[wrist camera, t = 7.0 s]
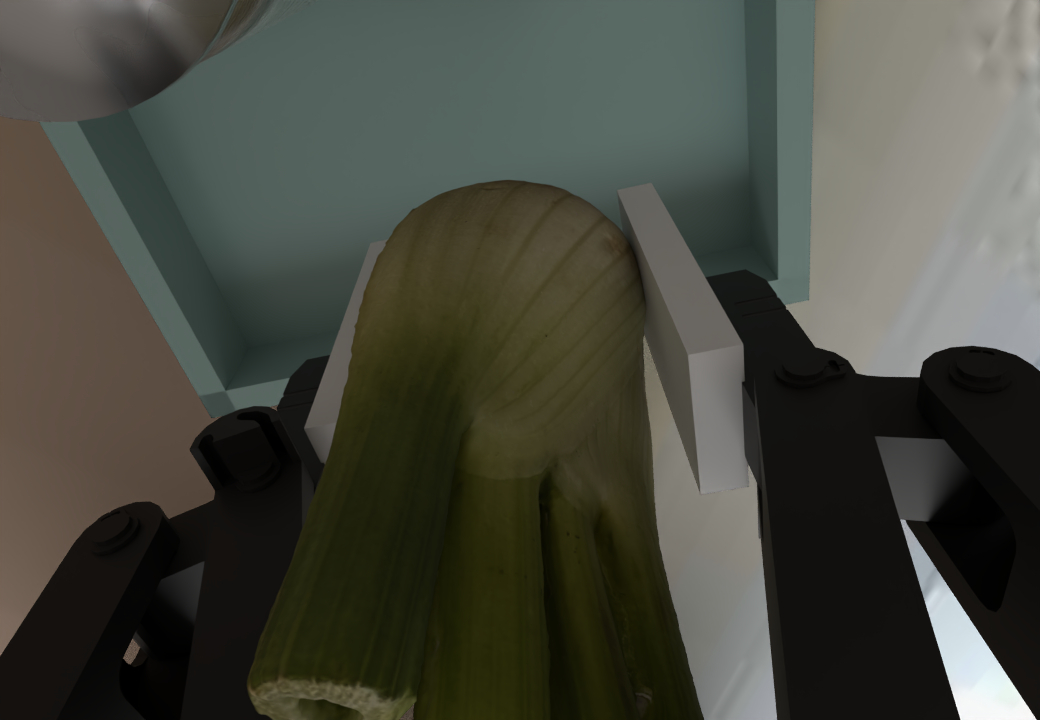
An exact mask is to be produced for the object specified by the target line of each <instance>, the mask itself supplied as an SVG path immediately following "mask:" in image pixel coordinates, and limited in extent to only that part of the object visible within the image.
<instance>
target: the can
mask: <svg viewBox="0 0 1040 720" xmlns="http://www.w3.org/2000/svg"><path fill="white" fill-rule="evenodd" d="M316 1H318V0H0V116H2V117H7V118H11V119H19V120H29V121H38V122H76V121H82V120H88V119H94V118H100V117H105V116H108V115H112V114H115V113H118V112H121V111H124V110H127V109H130V108H132V107H134V106H136V105H138V104H140V103H142V102H144V101H146V100H148V99H150V98H152V97H154V96H156V95H158V94H159V93H161V92H163V91H165V90H167V89H168V88H170V87H171V86H172V85H174V84H175V83H176V82H178V81H179V80H180V79H182V78H183V77H184V76H186V75H187V74H188V73H190V72H191V70H192V69H193V68H194V67H195V66H196V65H198V64H200V63H202V62H203V61H205V60H207V59H209V58H211V57H213V56H215V55H217V54H219V53H221V52H223V51H225V50H227V49H229V48H230V47H232V46H234V45H236V44H238V43H240V42H242V41H244V40H246V39H248V38H250V37H252V36H254V35H255V34H257V33H259V32H261V31H263V30H265V29H267V28H269V27H271V26H273V25H275V24H277V23H279V22H281V21H282V20H284V19H286V18H288V17H290V16H292V15H294V14H296V13H298V12H300V11H302V10H304V9H306V8H308V7H309V6H311V5H312V4H314V3H315V2H316Z"/></svg>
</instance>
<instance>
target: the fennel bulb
mask: <svg viewBox="0 0 1040 720" xmlns="http://www.w3.org/2000/svg"><path fill="white" fill-rule="evenodd" d="M385 244H386V245H385V247H384V248H383V251H382V252H381V253H380V254H379V255H378V256H377V259H376V262H375V265H374V267H373V270H372V272H371V275H370V278H369V280H368V283H367V285H366V289H365V290H364V294H363V300H362V303H361V305H360V308H359V315H358V320H357V323H356V324H355V326H354V327H355V334H354V337H353V344H352V347H351V353H352V357H351V360H350V363H349V366H348V379H347V383H346V385H345V387H344V392H343V396H342V400H341V406H340V410H339V415H338V419H337V423H336V426H335V430H334V434H333V439H332V444H331V447H330V451H329V455H328V458H327V460H326V463H325V466H324V469H323V473H322V476H321V479H320V482H319V484H318V487H317V489H316V492H315V494H314V497H313V499H312V501H311V503H310V506H309V509H308V512H307V516H306V521H305V523H304V526H303V528H302V531H301V534H300V537H299V540H298V542H297V545H296V548H295V551H294V555H293V558H292V561H291V564H290V566H289V569H288V571H287V573H286V575H285V577H284V580H283V583H282V585H281V588H280V590H279V592H278V594H277V597H276V600H275V603H274V605H273V607H272V608H271V610H270V614H269V618H268V620H267V623H266V625H265V628H264V631H263V632H262V634H261V636H260V639H259V642H258V646H257V650H256V653H255V659H254V662H253V664H252V667H251V670H250V673H249V675H248V679H247V690H248V694H249V697H250V699H251V701H252V704H253V705H254V707H255V710H256V711H257V712H258V713H259V714H264V715H267V716H269V717H270V718H271V719H272V720H399V719H400V718H401V717H402V716H403V715H404V714H405V713H406V712H407V711H408V710H409V709H410V707H411V706H412V705H413V704H414V703H415V704H414V714H413V720H704V717H703V714H702V712H701V708H700V705H699V701H698V698H697V694H696V689H695V686H694V682H693V677H692V674H691V672H690V668H689V664H688V659H687V654H686V651H685V646H684V644H683V641H682V638H681V633H680V630H679V624H678V620H677V614H676V612H675V609H674V605H673V602H672V598H671V594H670V591H669V585H668V581H667V576H666V572H665V569H664V564H663V560H662V554H661V551H660V547H659V537H658V530H657V524H656V513H655V511H656V509H655V502H654V478H653V460H652V440H651V430H650V422H649V416H648V408H647V399H646V392H645V377H644V358H643V337H644V326H645V321H646V301H645V296H644V289H643V284H642V279H641V275H640V271H639V267H638V263H637V260H636V256H635V254H634V251H633V249H632V247H631V245H630V243H629V242H628V240H627V238H626V236H625V235H624V233H623V232H622V231H621V230H620V228H619V227H618V226H617V225H616V224H615V223H613V222H612V221H611V220H610V219H608V218H607V217H606V216H605V215H604V214H603V213H602V212H601V211H600V210H598V209H597V208H596V207H594V206H593V205H592V204H591V203H589V202H587V201H586V200H584V199H582V198H581V197H579V196H575V195H573V194H572V193H570V192H569V191H567V190H565V189H562V188H558V187H555V186H553V185H547V184H540V183H532V182H527V181H520V180H518V181H517V180H498V181H491V182H485V183H476V184H473V185H469V186H464V187H461V188H457V189H453V190H450V191H447V192H444V193H441V194H439V195H437V196H435V197H433V198H432V199H430V200H428V201H426V202H425V203H423V204H422V205H420V206H419V207H417V208H415V209H412V210H411V211H410V212H409V214H408V215H407V216H406V217H405V218H404V219H403V220H402V221H401V222H400V223H399V224H398V225H397V226H396V227H395V229H394V230H393V233H392V235H391V236H390V237H389V239H388V240H387V241H386V243H385Z"/></svg>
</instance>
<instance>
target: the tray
mask: <svg viewBox="0 0 1040 720" xmlns="http://www.w3.org/2000/svg"><path fill="white" fill-rule="evenodd" d="M814 28H815V0H318V1H316V2H315V3H314V4H312V5H311V6H309V7H308V8H306V9H304V10H302V11H300V12H298V13H296V14H294V15H292V16H290V17H288V18H286V19H284V20H282V21H281V22H279V23H277V24H275V25H273V26H271V27H269V28H267V29H265V30H263V31H261V32H259V33H257V34H255V35H254V36H252V37H250V38H248V39H246V40H244V41H242V42H240V43H238V44H236V45H234V46H232V47H230V48H229V49H227V50H225V51H223V52H221V53H219V54H217V55H215V56H213V57H211V58H209V59H207V60H205V61H203V62H202V63H200V64H198V65H196V66H195V67H194V68H193V69H192V70H191V72H190V73H188V74H187V75H186V76H184V77H183V78H182V79H180V80H179V81H178V82H176V83H175V84H174V85H172V86H171V87H170V88H168V89H167V90H165V91H163V92H161V93H159V94H158V95H156V96H154V97H152V98H150V99H148V100H146V101H144V102H142V103H140V104H138V105H136V106H134V107H132V108H130V109H127V110H124V111H121V112H118V113H115V114H112V115H108V116H105V117H100V118H94V119H88V120H82V121H76V122H39V123H40V124H41V126H42V128H43V130H44V131H45V133H46V135H47V136H48V138H49V140H50V142H51V143H52V145H53V147H54V148H55V150H56V152H57V154H58V155H59V157H60V159H61V160H62V162H63V164H64V166H65V167H66V169H67V171H68V172H69V174H70V176H71V178H72V179H73V181H74V183H75V184H76V186H77V188H78V190H79V191H80V193H81V195H82V197H83V198H84V200H85V202H86V203H87V205H88V207H89V209H90V210H91V212H92V214H93V215H94V217H95V219H96V221H97V222H98V224H99V226H100V227H101V229H102V231H103V233H104V234H105V236H106V238H107V239H108V241H109V243H110V245H111V246H112V248H113V250H114V251H115V253H116V255H117V257H118V258H119V260H120V262H121V264H122V265H123V267H124V269H125V270H126V272H127V274H128V276H129V277H130V279H131V281H132V282H133V284H134V286H135V288H136V289H137V291H138V293H139V294H140V296H141V298H142V300H143V301H144V303H145V305H146V306H147V308H148V310H149V312H150V313H151V315H152V317H153V318H154V320H155V322H156V324H157V325H158V327H159V329H160V330H161V332H162V334H163V336H164V337H165V339H166V341H167V343H168V344H169V346H170V348H171V349H172V351H173V353H174V355H175V356H176V358H177V360H178V361H179V363H180V365H181V367H182V368H183V370H184V372H185V373H186V375H187V377H188V379H189V380H190V382H191V384H192V385H193V387H194V389H195V391H196V392H197V394H198V396H199V397H200V399H201V401H202V403H203V404H204V406H205V408H206V410H207V411H208V413H209V415H210V416H211V418H215V417H220V416H225V415H227V414H229V413H232V412H234V411H236V410H239V409H243V408H248V407H252V406H268V407H270V406H275V405H278V404H279V402H280V400H281V398H282V397H283V393H284V390H285V388H286V386H287V383H288V381H289V379H290V377H291V375H292V374H293V373H294V372H295V371H296V370H297V369H298V368H299V367H300V366H301V365H302V364H303V363H304V362H305V361H306V360H307V359H312V358H317V357H322V356H327V355H331V352H332V349H333V346H334V344H335V341H336V338H337V335H338V332H339V330H340V327H341V324H342V321H343V319H344V316H345V313H346V310H347V307H348V305H349V302H350V299H351V296H352V293H353V291H354V288H355V285H356V282H357V280H358V277H359V274H360V271H361V268H362V266H363V263H364V260H365V257H366V254H367V252H368V249H369V246H370V243H373V242H378V241H382V240H387V239H389V237H390V236H391V235H392V233H393V230H394V229H395V227H396V226H397V225H398V224H399V223H400V222H401V221H402V220H403V219H404V218H405V217H406V216H407V215H408V214H409V212H410V211H411V210H412V209H415V208H417V207H419V206H420V205H422V204H423V203H425V202H426V201H428V200H430V199H432V198H433V197H435V196H437V195H439V194H441V193H444V192H447V191H450V190H453V189H457V188H461V187H464V186H469V185H473V184H476V183H485V182H491V181H498V180H517V181H518V180H520V181H527V182H532V183H540V184H547V185H553V186H555V187H558V188H562V189H565V190H567V191H569V192H570V193H572V194H573V195H575V196H579V197H581V198H582V199H584V200H586V201H587V202H589V203H591V204H592V205H593V206H594V207H596V208H597V209H598V210H600V211H601V212H602V213H603V214H604V215H605V216H606V217H607V218H608V219H610V220H611V221H612V222H613V223H615V224H616V225H617V226H618V227H619V228H620V230H621V231H622V225H621V218H620V211H619V203H618V196H617V190H619V189H624V188H629V187H633V186H638V185H643V184H647V183H652V185H653V186H654V188H655V190H656V192H657V193H658V195H659V197H660V199H661V200H662V202H663V204H664V206H665V207H666V209H667V211H668V213H669V215H670V216H671V218H672V220H673V222H674V223H675V225H676V227H677V229H678V230H679V232H680V234H681V236H682V237H683V239H684V241H685V243H686V244H687V246H688V248H689V250H690V251H691V253H692V255H693V257H694V258H695V260H696V262H697V264H698V266H699V267H700V269H701V271H702V273H703V274H704V276H705V277H709V276H714V275H719V274H724V273H729V272H734V271H739V270H744V269H746V270H748V271H750V272H752V273H754V274H756V275H758V276H760V277H762V278H764V279H766V280H767V282H768V283H769V284H770V286H771V287H772V288H773V290H774V291H775V293H776V294H777V298H780V299H781V301H782V302H783V304H784V305H786V304H791V303H796V302H801V301H806V300H809V275H810V225H811V176H812V127H813V77H814Z"/></svg>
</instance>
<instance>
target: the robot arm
mask: <svg viewBox="0 0 1040 720" xmlns="http://www.w3.org/2000/svg"><path fill="white" fill-rule="evenodd" d="M617 196H618V203H619V211H620V218H621V225H622V232H623V233H624V235H625V236H626V238H627V240H628V242H629V243H630V245H631V247H632V249H633V251H634V254H635V256H636V260H637V263H638V267H639V271H640V275H641V279H642V284H643V289H644V296H645V301H646V321H645V326H644V335H645V338H646V340H647V343H648V346H649V349H650V352H651V355H652V358H653V360H654V363H655V366H656V369H657V372H658V375H659V377H660V380H661V383H662V386H663V389H664V392H665V394H666V397H667V400H668V403H669V406H670V409H671V412H672V414H673V417H674V420H675V423H676V426H677V429H678V431H679V434H680V437H681V440H682V443H683V446H684V449H685V451H686V454H687V457H688V460H689V463H690V466H691V468H692V471H693V474H694V477H695V480H696V483H697V485H698V488H699V491H700V494H701V495H703V494H709V493H715V492H721V491H726V490H732V489H738V488H744V487H749V480H748V464H749V466H750V468H751V470H752V473H753V475H754V477H755V479H756V481H757V496H758V530H759V538H761V546H762V557H763V568H764V579H765V590H766V601H767V612H768V623H769V634H770V645H771V656H772V667H773V678H774V689H775V700H776V711H777V720H960V717H959V714H958V710H957V707H956V704H955V700H954V697H953V694H952V690H951V687H950V684H949V680H948V677H947V674H946V671H945V667H944V664H943V661H942V657H941V654H940V651H939V647H938V644H937V641H936V637H935V634H934V631H933V627H932V624H931V621H930V618H929V614H928V611H927V608H926V604H925V601H924V598H923V594H922V591H921V588H920V584H919V581H918V578H917V574H916V571H915V568H914V565H913V561H912V558H911V555H910V551H909V548H908V545H907V541H906V538H905V535H904V531H903V528H902V525H901V521H900V519H903V520H906V523H907V525H908V526H909V528H910V529H911V531H912V532H913V534H914V535H915V537H916V538H917V540H918V541H919V543H920V544H921V546H922V547H923V549H924V550H925V552H926V553H927V555H928V556H929V558H930V559H931V561H932V562H933V564H934V565H935V567H936V568H937V570H938V571H939V573H940V574H941V576H942V577H943V579H944V580H945V582H946V583H947V585H948V587H949V588H950V590H951V591H952V593H953V594H954V596H955V597H956V599H957V600H958V602H959V603H960V605H961V606H962V608H963V609H964V611H965V612H966V614H967V615H968V617H969V618H970V620H971V621H972V623H973V624H974V626H975V627H976V629H977V630H978V632H979V633H980V635H981V636H982V638H983V639H984V641H985V642H986V644H987V645H988V647H989V648H990V650H991V651H992V653H993V654H994V656H995V657H996V659H997V660H998V662H999V663H1000V665H1001V666H1002V668H1003V669H1004V671H1005V672H1006V674H1007V675H1008V677H1009V678H1010V680H1011V682H1012V683H1013V685H1014V686H1015V688H1016V689H1017V691H1018V692H1019V694H1020V695H1021V697H1022V698H1023V700H1024V701H1025V703H1026V704H1027V706H1028V707H1029V709H1030V710H1031V712H1032V713H1033V715H1034V716H1035V718H1036V719H1037V720H1040V371H1039V370H1038V369H1036V368H1035V367H1034V366H1033V365H1031V364H1030V363H1028V362H1026V361H1025V360H1023V359H1021V358H1020V357H1018V356H1017V355H1014V354H1010V353H1007V352H1004V351H1001V350H998V349H994V348H987V347H977V346H965V347H952V348H948V349H945V350H942V351H939V352H936V353H933V354H932V355H931V356H930V357H929V358H927V359H926V360H925V361H924V362H923V365H922V369H921V373H920V377H878V376H866V375H861V374H857V373H856V372H855V370H854V369H853V367H852V366H851V364H850V363H849V361H848V360H846V359H844V358H843V357H841V356H839V355H838V354H836V353H834V352H831V351H827V350H823V349H820V348H815V346H814V345H813V343H812V342H811V341H810V339H809V338H808V337H807V335H806V334H805V332H804V331H803V330H802V328H801V327H800V326H799V324H798V323H797V321H796V320H795V319H794V317H793V316H792V315H791V313H790V312H789V310H786V306H785V305H784V304H783V302H782V301H781V299H780V298H777V294H776V293H775V291H774V290H773V288H772V287H771V286H770V284H769V283H768V282H767V280H766V279H764V278H762V277H760V276H758V275H756V274H754V273H752V272H750V271H748V270H746V269H744V270H739V271H734V272H729V273H724V274H719V275H714V276H709V277H705V276H704V274H703V273H702V271H701V269H700V267H699V266H698V264H697V262H696V260H695V258H694V257H693V255H692V253H691V251H690V250H689V248H688V246H687V244H686V243H685V241H684V239H683V237H682V236H681V234H680V232H679V230H678V229H677V227H676V225H675V223H674V222H673V220H672V218H671V216H670V215H669V213H668V211H667V209H666V207H665V206H664V204H663V202H662V200H661V199H660V197H659V195H658V193H657V192H656V190H655V188H654V186H653V185H652V183H647V184H643V185H638V186H633V187H629V188H624V189H619V190H617ZM387 240H388V239H387ZM387 240H382V241H378V242H373V243H370V246H369V249H368V252H367V254H366V257H365V260H364V263H363V266H362V268H361V271H360V274H359V277H358V280H357V282H356V285H355V288H354V291H353V293H352V296H351V299H350V302H349V305H348V307H347V310H346V313H345V316H344V319H343V321H342V324H341V327H340V330H339V332H338V335H337V338H336V341H335V344H334V346H333V349H332V352H331V355H327V356H322V357H317V358H312V359H307V360H306V361H305V362H304V363H303V364H302V365H301V366H300V367H299V368H298V369H297V370H296V371H295V372H294V373H293V374H292V375H291V377H290V379H289V381H288V383H287V386H286V388H285V390H284V393H283V397H282V398H281V400H280V402H279V404H278V407H277V411H276V410H274V409H272V408H270V407H268V406H252V407H248V408H243V409H239V410H236V411H234V412H232V413H229V414H227V415H225V416H222V417H221V418H219V419H218V420H216V421H215V422H213V423H212V424H210V425H209V426H207V427H206V428H205V429H204V430H203V431H202V432H201V433H200V434H199V435H198V436H197V437H196V438H195V440H194V442H193V444H192V446H191V448H190V452H191V453H192V455H193V456H194V458H195V459H196V461H197V463H198V464H199V466H200V467H201V469H202V471H203V472H204V474H205V475H206V477H207V478H208V480H209V482H210V483H211V485H212V486H213V488H214V489H215V496H214V500H212V501H210V502H208V503H206V504H204V505H202V506H199V507H197V508H194V509H192V510H189V511H187V512H185V513H182V514H180V515H177V516H175V517H172V518H170V519H168V518H167V516H166V515H165V513H164V512H163V511H162V509H161V508H160V506H158V505H156V504H154V503H152V502H135V503H132V504H128V505H125V506H122V507H119V508H117V509H114V510H112V511H111V512H110V513H109V512H108V513H107V514H105V515H103V516H102V517H100V518H99V519H98V520H97V521H96V522H94V523H93V524H92V525H91V526H89V527H88V528H87V529H86V530H85V531H84V532H83V533H82V534H81V535H80V537H79V538H78V539H77V540H76V541H75V543H74V544H73V545H72V547H71V549H70V550H69V552H68V553H67V555H66V556H65V558H64V559H63V561H62V562H61V564H60V565H59V567H58V568H57V570H56V572H55V573H54V575H53V576H52V578H51V579H50V581H49V582H48V584H47V585H46V587H45V588H44V590H43V592H42V593H41V595H40V596H39V598H38V599H37V601H36V602H35V604H34V605H33V607H32V608H31V610H30V611H29V613H28V615H27V616H26V618H25V619H24V621H23V622H22V624H21V625H20V627H19V628H18V630H17V631H16V633H15V635H14V636H13V638H12V639H11V641H10V642H9V644H8V645H7V647H6V648H5V650H4V651H3V653H2V654H1V656H0V720H272V719H271V718H270V717H269V716H267V715H264V714H259V713H258V712H257V711H256V710H255V707H254V705H253V704H252V701H251V699H250V697H249V694H248V690H247V679H248V675H249V673H250V670H251V667H252V664H253V662H254V659H255V653H256V650H257V646H258V642H259V639H260V636H261V634H262V632H263V631H264V628H265V625H266V623H267V620H268V618H269V614H270V610H271V608H272V607H273V605H274V603H275V600H276V597H277V594H278V592H279V590H280V588H281V585H282V583H283V580H284V577H285V575H286V573H287V571H288V569H289V566H290V564H291V561H292V558H293V555H294V551H295V548H296V545H297V542H298V540H299V537H300V534H301V531H302V528H303V526H304V523H305V521H306V516H307V512H308V509H309V506H310V503H311V501H312V499H313V497H314V494H315V492H316V489H317V487H318V484H319V482H320V479H321V476H322V473H323V469H324V466H325V463H326V460H327V458H328V455H329V451H330V447H331V444H332V439H333V434H334V430H335V426H336V423H337V419H338V415H339V410H340V406H341V400H342V396H343V392H344V387H345V385H346V383H347V379H348V366H349V363H350V360H351V357H352V353H351V347H352V344H353V337H354V334H355V327H354V326H355V324H356V323H357V320H358V315H359V308H360V305H361V303H362V300H363V294H364V290H365V289H366V285H367V283H368V280H369V278H370V275H371V272H372V270H373V267H374V265H375V262H376V259H377V256H378V255H379V254H380V253H381V252H382V251H383V248H384V247H385V245H386V244H385V243H386V241H387ZM132 638H133V639H134V641H135V642H136V643H137V644H138V645H139V646H140V649H139V652H138V654H137V656H136V658H135V659H134V661H133V662H132V663H131V665H130V664H128V663H127V662H126V661H125V660H124V659H123V657H124V654H125V652H126V650H127V648H128V646H129V644H130V642H131V640H132Z"/></svg>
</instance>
